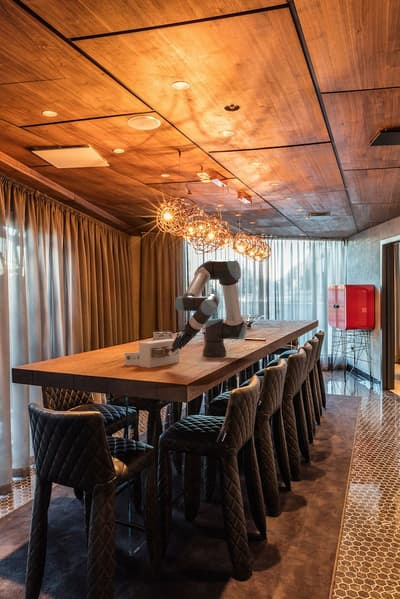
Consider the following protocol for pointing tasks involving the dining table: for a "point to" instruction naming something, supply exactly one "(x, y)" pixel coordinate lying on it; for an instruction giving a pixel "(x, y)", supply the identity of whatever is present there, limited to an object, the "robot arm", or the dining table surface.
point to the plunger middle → (167, 350)
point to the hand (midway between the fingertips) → (170, 355)
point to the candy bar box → (162, 335)
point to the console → (149, 361)
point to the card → (132, 358)
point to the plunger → (157, 353)
